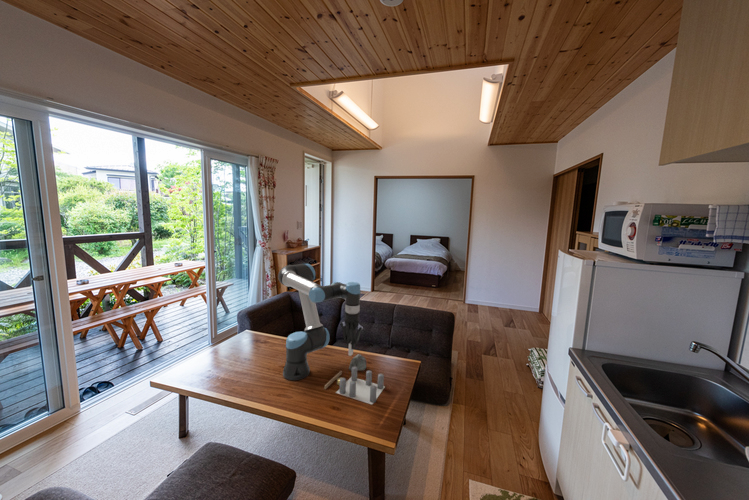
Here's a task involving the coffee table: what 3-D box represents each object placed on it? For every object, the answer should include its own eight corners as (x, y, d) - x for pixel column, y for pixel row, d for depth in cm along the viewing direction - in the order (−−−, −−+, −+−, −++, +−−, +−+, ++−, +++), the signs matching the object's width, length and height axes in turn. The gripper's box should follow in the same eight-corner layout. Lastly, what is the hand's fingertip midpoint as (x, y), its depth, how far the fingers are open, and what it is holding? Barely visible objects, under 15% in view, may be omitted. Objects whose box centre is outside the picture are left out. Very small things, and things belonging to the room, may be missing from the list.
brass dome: (335, 384, 156) (335, 380, 156) (339, 380, 160) (339, 376, 160) (341, 386, 154) (341, 382, 154) (346, 382, 158) (346, 378, 158)
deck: (324, 391, 151) (324, 376, 150) (340, 375, 167) (340, 362, 166) (373, 407, 140) (373, 391, 139) (386, 388, 155) (386, 374, 154)
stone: (358, 357, 168) (362, 349, 178) (345, 366, 170) (349, 357, 180) (368, 370, 168) (371, 361, 178) (355, 379, 170) (359, 370, 180)
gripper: (337, 311, 150) (336, 354, 152) (360, 316, 144) (358, 360, 147) (345, 307, 156) (343, 348, 159) (366, 312, 151) (364, 354, 154)
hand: (350, 354), depth 153 cm, fingers closed
